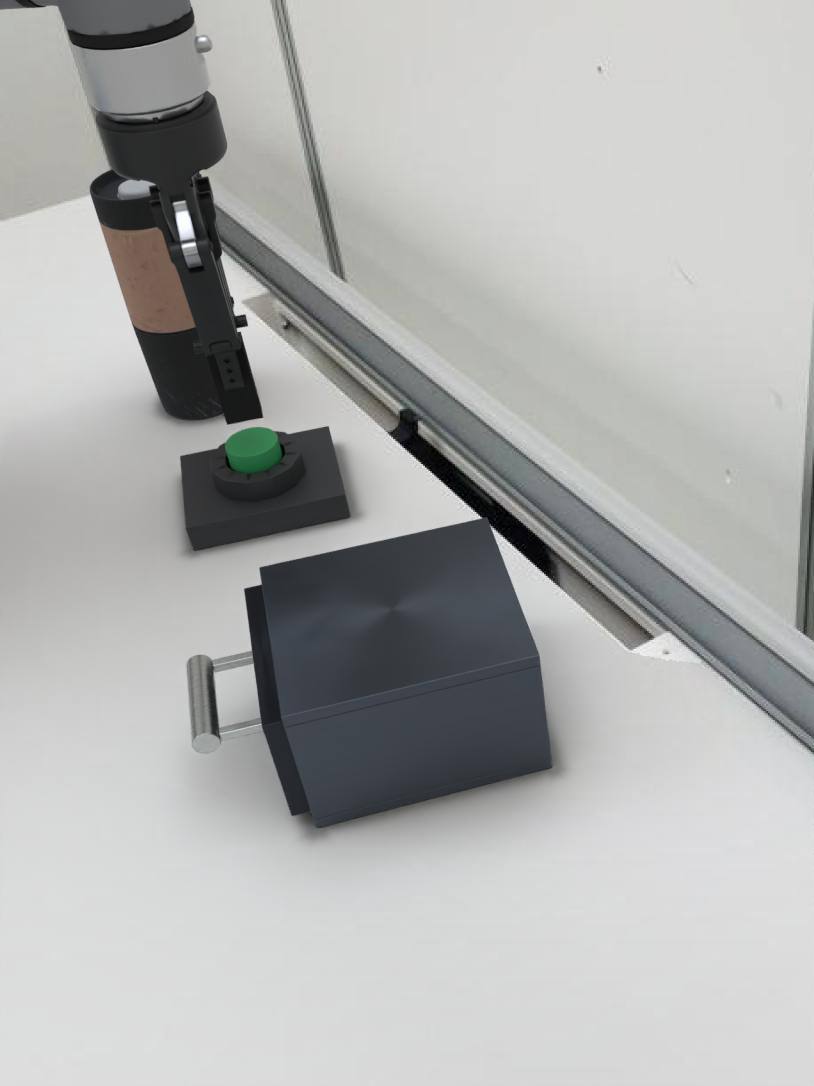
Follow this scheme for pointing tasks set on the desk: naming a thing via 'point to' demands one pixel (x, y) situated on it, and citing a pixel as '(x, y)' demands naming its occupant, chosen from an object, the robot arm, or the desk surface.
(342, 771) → the cabinet
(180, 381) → the travel mug
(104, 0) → the robot arm
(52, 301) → the desk surface
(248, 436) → the button
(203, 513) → the panel
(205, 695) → the drawer
